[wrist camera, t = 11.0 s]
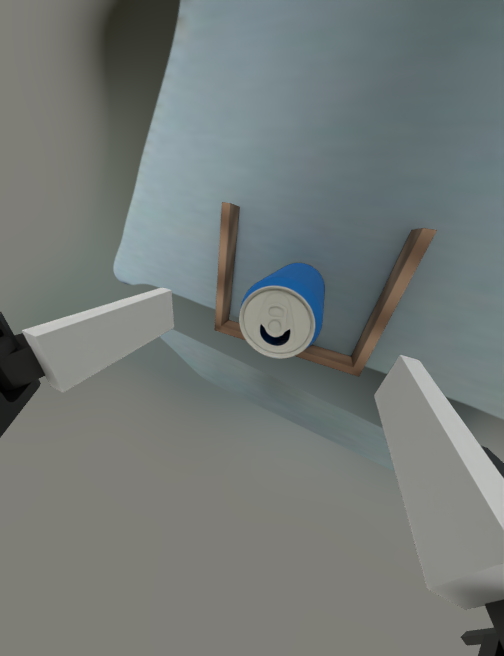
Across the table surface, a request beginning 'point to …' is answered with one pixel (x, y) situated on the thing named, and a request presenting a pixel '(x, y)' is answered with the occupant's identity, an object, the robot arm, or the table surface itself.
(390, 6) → the table surface
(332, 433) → the table surface
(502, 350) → the table surface
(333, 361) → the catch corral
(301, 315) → the beverage can
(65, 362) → the robot arm
